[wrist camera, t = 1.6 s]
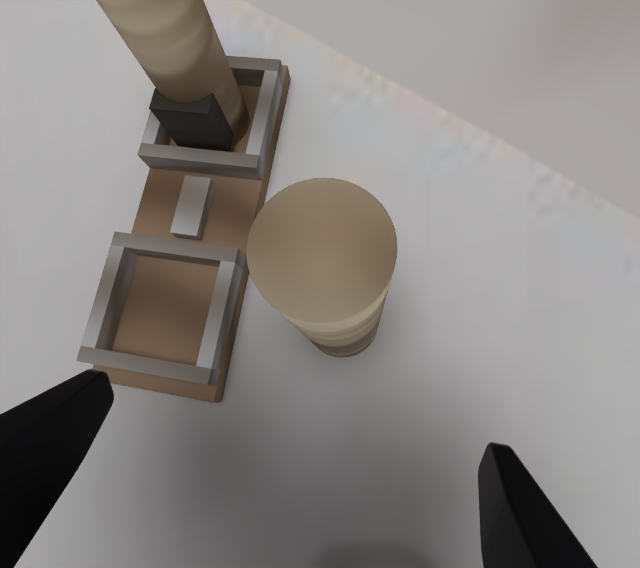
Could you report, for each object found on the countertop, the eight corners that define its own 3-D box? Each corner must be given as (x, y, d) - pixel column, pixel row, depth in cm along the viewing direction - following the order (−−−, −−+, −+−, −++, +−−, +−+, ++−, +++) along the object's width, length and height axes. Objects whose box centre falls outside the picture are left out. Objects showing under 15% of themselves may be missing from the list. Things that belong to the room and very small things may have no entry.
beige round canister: (372, 363, 23) (386, 333, 10) (301, 351, 23) (232, 309, 11) (383, 284, 24) (408, 169, 11) (314, 274, 24) (266, 154, 12)
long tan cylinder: (240, 161, 25) (121, -63, 13) (178, 154, 26) (6, -67, 13) (255, 97, 26) (159, -169, 14) (195, 92, 27) (50, -169, 14)
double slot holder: (221, 401, 23) (203, 403, 21) (102, 379, 24) (71, 378, 21) (290, 79, 28) (283, 47, 25) (188, 71, 29) (171, 39, 26)
